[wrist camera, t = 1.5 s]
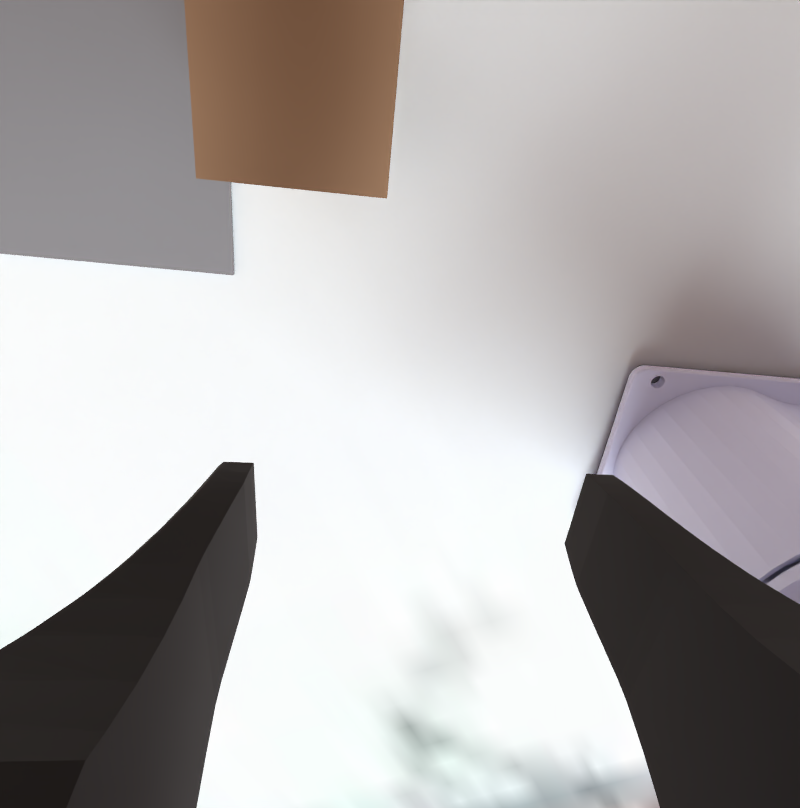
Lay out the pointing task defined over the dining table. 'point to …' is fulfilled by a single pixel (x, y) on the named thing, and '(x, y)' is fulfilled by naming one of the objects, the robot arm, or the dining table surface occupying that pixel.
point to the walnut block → (294, 92)
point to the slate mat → (104, 138)
